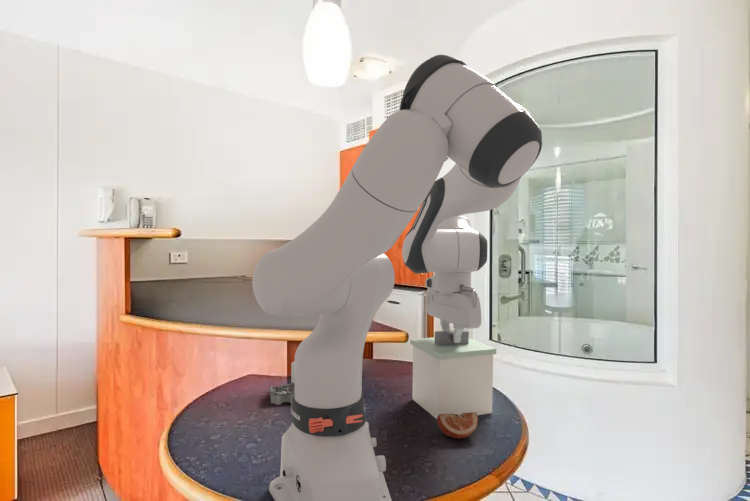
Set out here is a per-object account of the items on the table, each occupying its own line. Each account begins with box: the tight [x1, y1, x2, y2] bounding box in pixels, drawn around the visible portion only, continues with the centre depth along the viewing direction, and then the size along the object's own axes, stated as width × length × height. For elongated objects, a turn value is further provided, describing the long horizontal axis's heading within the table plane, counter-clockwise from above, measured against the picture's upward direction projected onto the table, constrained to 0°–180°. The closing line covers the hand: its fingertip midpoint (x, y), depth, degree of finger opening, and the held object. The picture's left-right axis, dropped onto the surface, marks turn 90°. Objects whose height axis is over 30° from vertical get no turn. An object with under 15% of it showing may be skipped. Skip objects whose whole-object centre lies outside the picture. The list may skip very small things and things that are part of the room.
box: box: [411, 345, 494, 420], centre depth 103 cm, size 14×14×14 cm
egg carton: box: [269, 382, 294, 406], centre depth 107 cm, size 11×8×4 cm
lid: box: [410, 329, 497, 359], centre depth 103 cm, size 15×15×5 cm
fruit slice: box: [436, 412, 479, 439], centre depth 87 cm, size 8×7×5 cm
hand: (451, 340), depth 103 cm, fingers open, 3 cm apart
